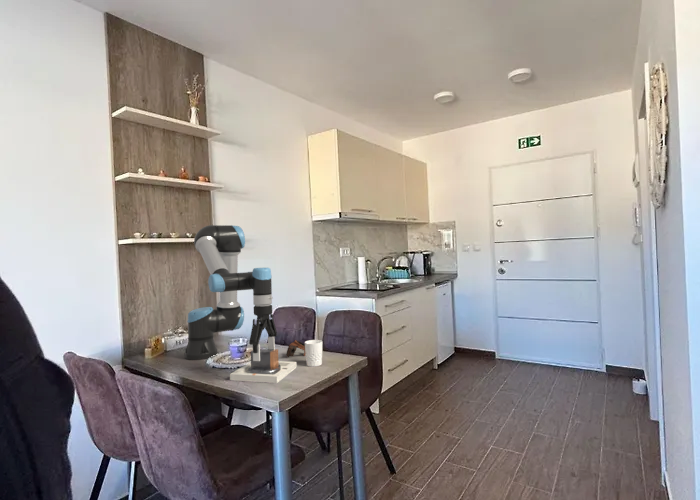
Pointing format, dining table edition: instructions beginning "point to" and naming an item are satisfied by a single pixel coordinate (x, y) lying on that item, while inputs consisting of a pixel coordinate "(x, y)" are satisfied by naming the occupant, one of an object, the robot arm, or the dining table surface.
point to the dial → (265, 362)
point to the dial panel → (275, 378)
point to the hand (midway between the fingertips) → (264, 356)
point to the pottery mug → (293, 348)
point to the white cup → (313, 352)
